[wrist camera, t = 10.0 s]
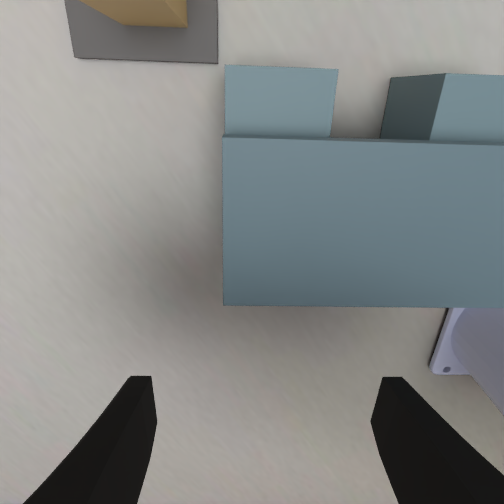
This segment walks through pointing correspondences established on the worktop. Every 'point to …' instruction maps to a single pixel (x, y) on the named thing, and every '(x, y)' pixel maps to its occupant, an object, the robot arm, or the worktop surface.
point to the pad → (145, 36)
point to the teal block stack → (362, 193)
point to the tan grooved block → (143, 12)
